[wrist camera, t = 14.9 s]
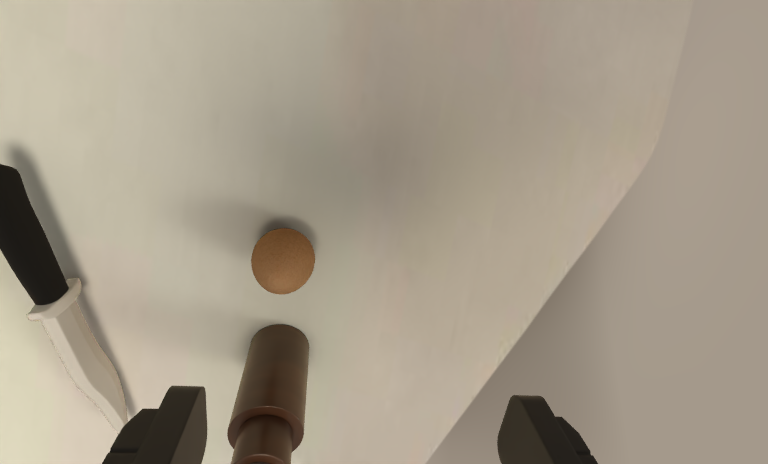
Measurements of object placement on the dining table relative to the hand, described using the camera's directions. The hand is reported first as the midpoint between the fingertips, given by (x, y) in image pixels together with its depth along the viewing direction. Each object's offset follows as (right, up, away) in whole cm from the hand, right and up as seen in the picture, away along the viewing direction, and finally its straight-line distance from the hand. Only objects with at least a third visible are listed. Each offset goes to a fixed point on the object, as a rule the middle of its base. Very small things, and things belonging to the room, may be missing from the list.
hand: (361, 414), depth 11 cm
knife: (-23, -1, +22) cm, 31 cm away
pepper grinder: (-9, -5, +25) cm, 27 cm away
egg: (-7, +4, +22) cm, 23 cm away
